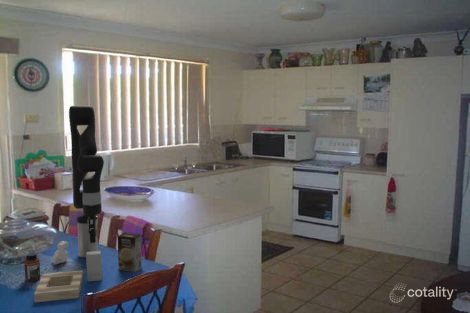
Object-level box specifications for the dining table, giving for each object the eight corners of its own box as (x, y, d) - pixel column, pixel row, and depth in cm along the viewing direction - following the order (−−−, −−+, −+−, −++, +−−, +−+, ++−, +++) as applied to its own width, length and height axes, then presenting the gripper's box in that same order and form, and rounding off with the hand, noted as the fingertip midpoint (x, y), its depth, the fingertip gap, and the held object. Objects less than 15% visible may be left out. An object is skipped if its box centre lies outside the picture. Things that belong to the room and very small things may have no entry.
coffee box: (117, 270, 198) (116, 236, 196) (124, 265, 204) (123, 232, 202) (135, 272, 196) (134, 237, 194) (142, 267, 202) (141, 233, 200)
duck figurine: (59, 271, 203) (73, 251, 203) (44, 262, 201) (59, 242, 202) (63, 261, 215) (77, 243, 215) (50, 253, 213) (64, 235, 213)
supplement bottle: (25, 277, 190) (24, 252, 188) (40, 275, 192) (39, 250, 191) (24, 282, 184) (23, 257, 183) (40, 280, 186) (38, 255, 185)
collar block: (43, 281, 186) (43, 273, 185) (83, 277, 189) (82, 269, 189) (34, 302, 166) (34, 293, 166) (78, 297, 170) (78, 288, 170)
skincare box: (102, 276, 191) (101, 250, 189) (102, 280, 186) (101, 253, 185) (87, 278, 189) (86, 251, 188) (87, 282, 185) (85, 254, 183)
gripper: (84, 199, 190) (85, 235, 192) (81, 206, 176) (82, 245, 178) (102, 198, 191) (103, 233, 193) (100, 205, 178) (102, 244, 180)
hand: (93, 239), depth 186 cm, fingers open, 8 cm apart
